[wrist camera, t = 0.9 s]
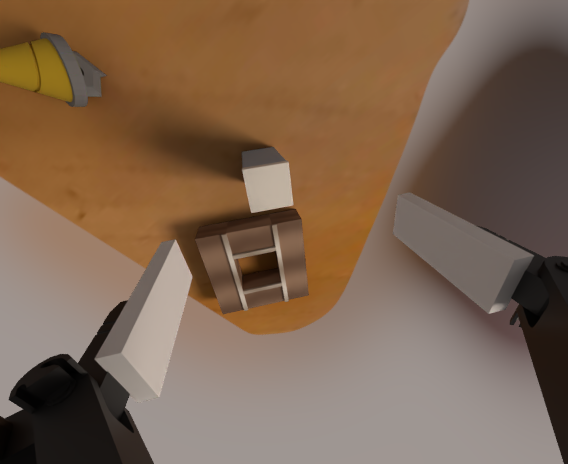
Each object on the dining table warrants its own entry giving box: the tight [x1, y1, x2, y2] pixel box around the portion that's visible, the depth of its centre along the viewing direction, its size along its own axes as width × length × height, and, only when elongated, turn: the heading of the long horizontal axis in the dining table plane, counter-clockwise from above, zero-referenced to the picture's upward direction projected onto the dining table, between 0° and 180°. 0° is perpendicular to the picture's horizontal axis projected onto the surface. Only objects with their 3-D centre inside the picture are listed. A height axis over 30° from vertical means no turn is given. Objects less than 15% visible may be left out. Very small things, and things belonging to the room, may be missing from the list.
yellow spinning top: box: [0, 32, 107, 107], centre depth 19 cm, size 5×5×10 cm
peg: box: [242, 147, 293, 213], centre depth 25 cm, size 4×4×10 cm
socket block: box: [195, 209, 309, 314], centre depth 34 cm, size 14×14×4 cm
